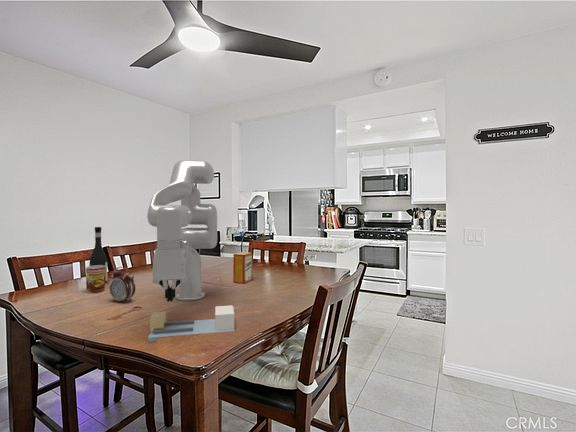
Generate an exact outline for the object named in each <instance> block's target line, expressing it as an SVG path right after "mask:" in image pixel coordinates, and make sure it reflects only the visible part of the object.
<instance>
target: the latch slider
mask: <svg viewBox="0 0 576 432" xmlns="http://www.w3.org/2000/svg"><path fill="white" fill-rule="evenodd" d="M166 322H167V312H166V310H165V311H153V312H152V313H151V315H150V317H149V334H150V333H151V332H153V330H162V329H165V327H166Z"/></svg>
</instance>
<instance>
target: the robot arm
mask: <svg viewBox="0 0 576 432" xmlns="http://www.w3.org/2000/svg"><path fill="white" fill-rule="evenodd" d="M214 177H215V171H214V168H213V166H212V165H211V163H209V162H208V161H205V160H193V159H192V160H190V159H187V160H186V159H184V160H183V159H182V160H179V161H177V162H176V163H175V164H174V166H173V169H172V172H171V177H170V180H169V184H167V185H165V186H164V187H162V188H161V189H159V190H158V191H157V192H155V193H154V195H153V196H152V198H151V200H150V203H149V205H148V210H147V215H146V218H147V222H148V224H149V225H150V226H152V227H154V228H156V248H155V249H154V254H153V260H152V261H153V262H152V281H151V282H152V284H154V285H160V286H161V287H162V288H163V289H164V299H166V302H168V303H169V302H173V301H174V299H176V300H178V301H181V302H182V301H183V302H184V301H185V302H188V301H189V302H190V301H198V300H200V299H203V298H205V296H206V293H205V292H203V291H202V257H201V255H200V254H199V252H198V249H199V250H202V249H203V250H204V249H214V248H216V246H217V244H218V211H217V207H216V206H215V205H214V204H211V203H201V191H200V190H199V188H198V187H197V186H196V184H198V185H199V184H201V185H202V184H203V185H210V184H212V182H213V181H214V179H215V178H214ZM178 201H180V205H178V204H177V205H176V204H175V205H173V204H171V203H175V202H178ZM189 225H191V226H192V225H197V226H198V225H199V226H200V225H201V226H204V225H205V226H206V227H187V226H189ZM169 281H172V282H171V285H169ZM178 286H179V293H177V294H176V288H177V287H178Z"/></svg>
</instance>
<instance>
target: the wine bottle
mask: <svg viewBox="0 0 576 432" xmlns="http://www.w3.org/2000/svg"><path fill="white" fill-rule="evenodd" d="M94 236H95V237H94V238H95V242H94V249H93V250H92V253H91V256H90V257H89V258H90V259H89V266H94V265H104V266H105V284H107V282H108V258H107V255H106V253H105V251H104V248H103V247H102V226H95V227H94Z"/></svg>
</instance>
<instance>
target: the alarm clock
mask: <svg viewBox="0 0 576 432" xmlns="http://www.w3.org/2000/svg"><path fill="white" fill-rule="evenodd" d="M119 269H124V270H126V272H125V273H123V272H122V271H120V270H119ZM110 277H111V280H110V282H109V287H108V289H109V293H110V295H111V297H112V298H113V300H112V301H113V302H115V301H116V302H117V301H118V302H121V301H123V302H124V304H127V301H126V300H129V301H132V299H131V298H133V296H134V295H135V292H136V282H135V281H134V278H135V276H134V274H133V273H132V272H129V270H128V268H127V267H124V266H119V267H117V268H116V269H114V271H113V272H112V274H111V276H110Z"/></svg>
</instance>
